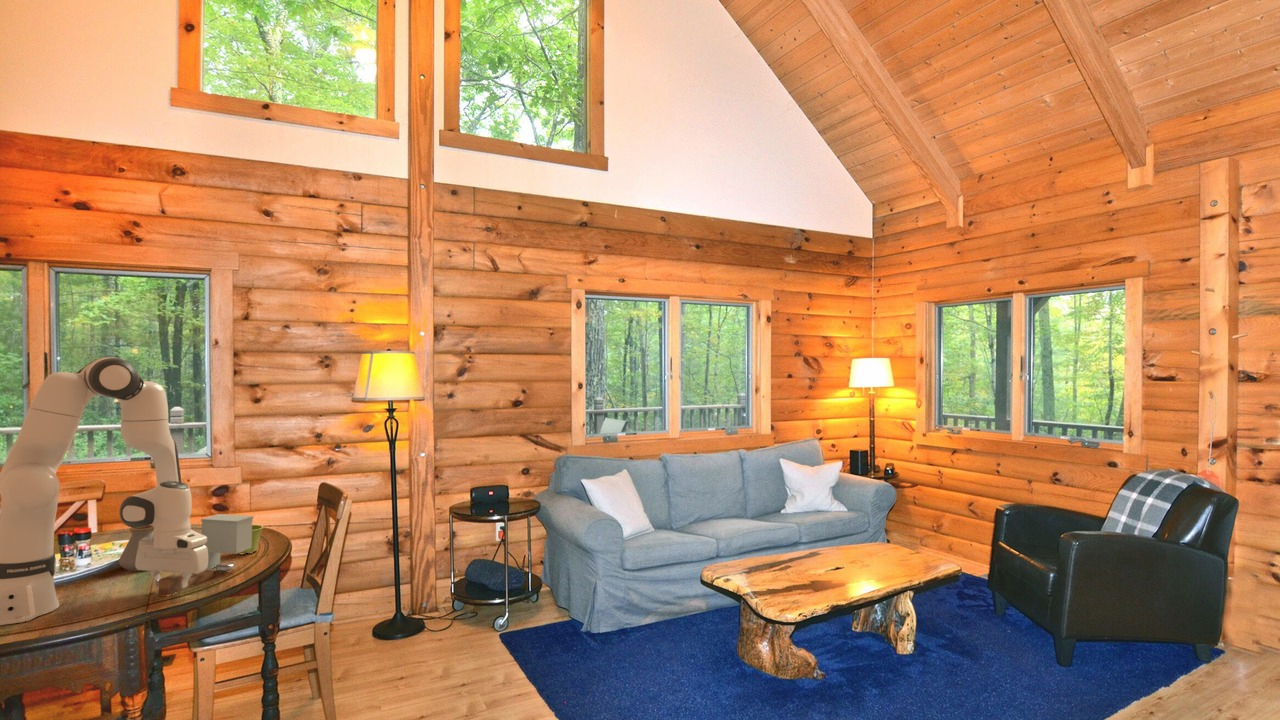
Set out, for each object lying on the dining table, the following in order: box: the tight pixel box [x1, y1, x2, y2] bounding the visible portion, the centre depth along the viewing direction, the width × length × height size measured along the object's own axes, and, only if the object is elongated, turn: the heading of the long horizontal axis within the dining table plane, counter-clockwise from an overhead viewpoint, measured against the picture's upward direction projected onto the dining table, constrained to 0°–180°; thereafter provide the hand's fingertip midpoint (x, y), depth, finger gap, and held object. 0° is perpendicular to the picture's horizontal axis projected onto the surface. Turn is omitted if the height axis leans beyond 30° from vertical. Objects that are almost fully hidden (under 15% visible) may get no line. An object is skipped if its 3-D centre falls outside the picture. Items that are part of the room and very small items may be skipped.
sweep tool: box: [157, 569, 215, 596], centre depth 198 cm, size 18×3×4 cm, turn 174°
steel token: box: [215, 562, 235, 573], centre depth 213 cm, size 5×5×2 cm
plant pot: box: [239, 524, 264, 554], centre depth 234 cm, size 9×9×9 cm
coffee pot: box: [118, 525, 154, 572], centre depth 219 cm, size 21×12×15 cm, turn 21°
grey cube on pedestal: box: [200, 513, 254, 570], centre depth 214 cm, size 7×12×17 cm, turn 84°
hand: (170, 586), depth 192 cm, fingers open, 6 cm apart
